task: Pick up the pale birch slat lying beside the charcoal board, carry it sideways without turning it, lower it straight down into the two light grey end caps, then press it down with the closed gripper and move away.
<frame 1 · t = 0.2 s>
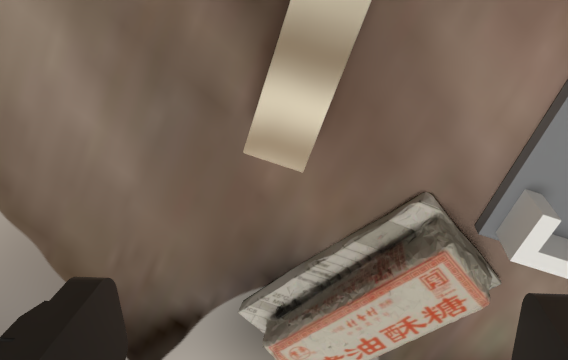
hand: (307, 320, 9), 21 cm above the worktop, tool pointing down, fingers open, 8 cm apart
slat: (317, 24, 27), on the worktop
packaged product: (362, 284, 37), on the worktop
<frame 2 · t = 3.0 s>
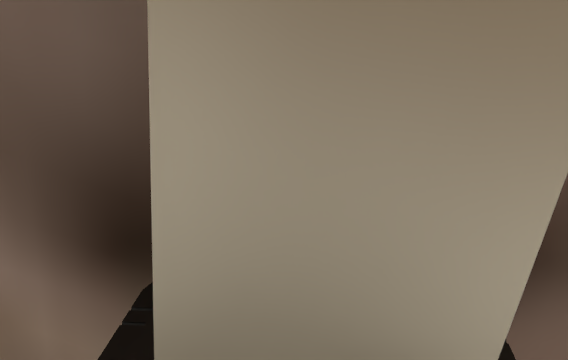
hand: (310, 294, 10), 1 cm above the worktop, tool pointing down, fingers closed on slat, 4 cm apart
slat: (313, 278, 11), on the worktop, touching gripper
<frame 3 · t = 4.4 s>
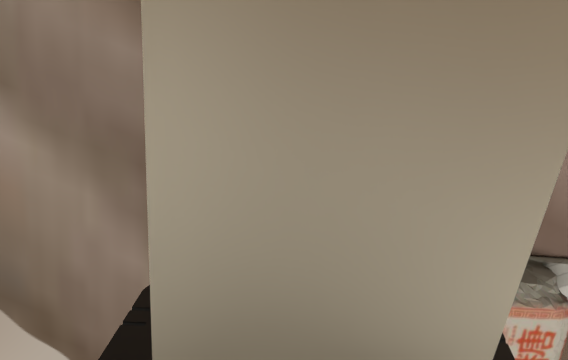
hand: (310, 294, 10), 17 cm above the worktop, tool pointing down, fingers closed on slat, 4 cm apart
slat: (313, 278, 11), point 17 cm above the worktop, touching gripper
packaged product: (468, 358, 32), on the worktop
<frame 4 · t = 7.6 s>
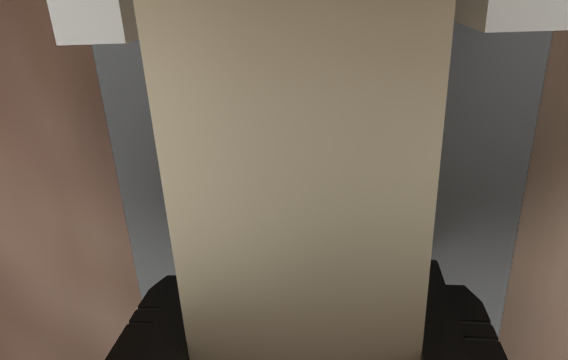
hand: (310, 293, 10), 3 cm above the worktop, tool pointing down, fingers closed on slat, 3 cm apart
slat: (316, 231, 12), point 1 cm above the worktop, touching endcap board, gripper
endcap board: (314, 219, 13), on the worktop
when the fingers open (3 cm above the worktop, at t = 8.5 s): slat stays where it is, resting on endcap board.
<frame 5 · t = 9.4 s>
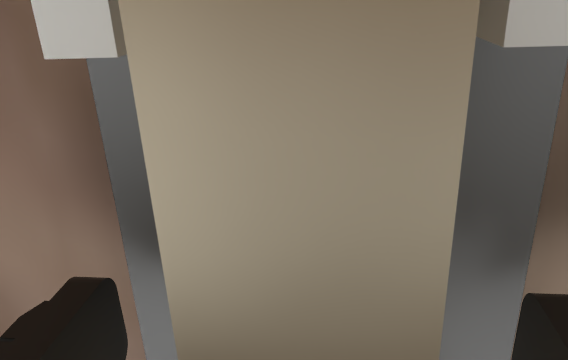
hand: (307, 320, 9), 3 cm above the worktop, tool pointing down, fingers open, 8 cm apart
slat: (319, 249, 11), point 1 cm above the worktop, touching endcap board
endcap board: (318, 235, 12), on the worktop
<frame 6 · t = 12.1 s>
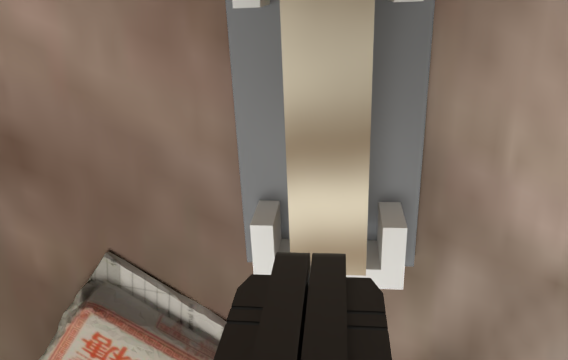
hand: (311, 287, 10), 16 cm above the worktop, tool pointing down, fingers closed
slat: (329, 106, 24), point 1 cm above the worktop, touching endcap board
packaged product: (191, 353, 34), on the worktop
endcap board: (328, 105, 25), on the worktop
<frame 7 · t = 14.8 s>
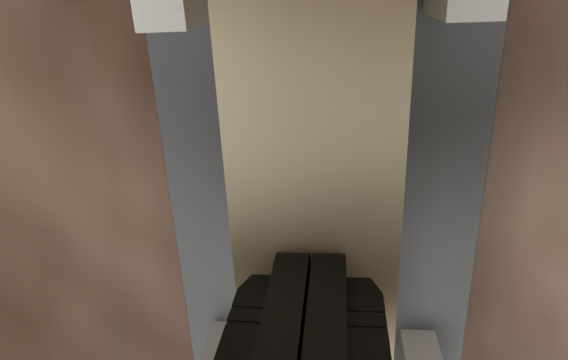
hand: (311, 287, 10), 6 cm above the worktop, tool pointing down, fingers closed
slat: (322, 187, 15), point 1 cm above the worktop, touching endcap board, gripper
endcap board: (321, 180, 16), on the worktop
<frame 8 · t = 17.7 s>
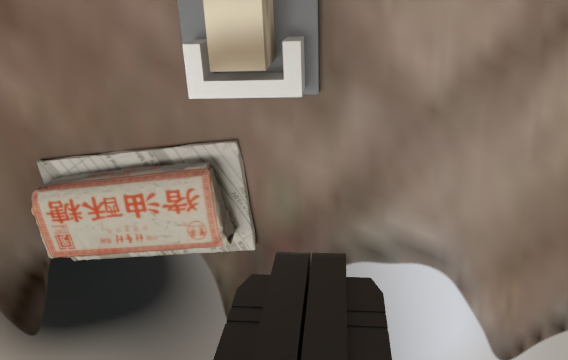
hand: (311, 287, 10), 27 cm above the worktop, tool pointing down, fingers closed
packaged product: (153, 198, 42), on the worktop
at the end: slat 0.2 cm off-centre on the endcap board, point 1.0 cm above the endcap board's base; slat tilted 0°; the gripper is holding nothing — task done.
